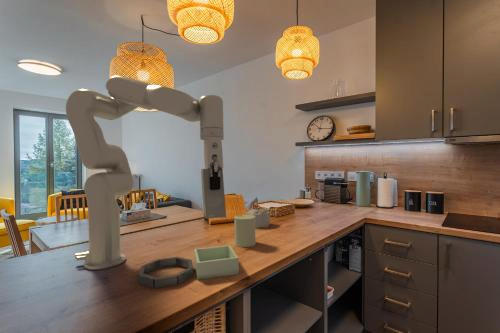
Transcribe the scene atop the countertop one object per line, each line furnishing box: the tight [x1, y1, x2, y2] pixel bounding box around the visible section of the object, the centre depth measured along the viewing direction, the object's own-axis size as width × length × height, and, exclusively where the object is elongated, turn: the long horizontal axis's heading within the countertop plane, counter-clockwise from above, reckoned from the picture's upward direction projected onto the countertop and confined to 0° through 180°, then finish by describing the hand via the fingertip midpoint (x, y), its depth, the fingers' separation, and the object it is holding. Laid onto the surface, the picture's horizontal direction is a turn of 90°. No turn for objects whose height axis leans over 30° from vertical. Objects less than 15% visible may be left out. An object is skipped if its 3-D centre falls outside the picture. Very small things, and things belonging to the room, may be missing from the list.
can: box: [233, 214, 257, 248], centre depth 105 cm, size 9×9×12 cm
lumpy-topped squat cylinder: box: [245, 208, 271, 229], centre depth 136 cm, size 10×13×9 cm
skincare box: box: [200, 168, 227, 220], centre depth 80 cm, size 8×7×16 cm
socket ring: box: [137, 256, 194, 289], centre depth 76 cm, size 15×15×2 cm
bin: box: [193, 244, 240, 281], centre depth 80 cm, size 13×13×5 cm
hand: (212, 188), depth 80 cm, fingers closed on skincare box, 8 cm apart
